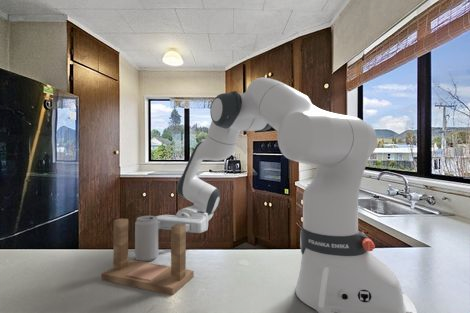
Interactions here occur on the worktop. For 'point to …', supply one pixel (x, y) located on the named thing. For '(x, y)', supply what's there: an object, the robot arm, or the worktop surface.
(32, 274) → the worktop surface
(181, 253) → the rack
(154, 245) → the beverage can
